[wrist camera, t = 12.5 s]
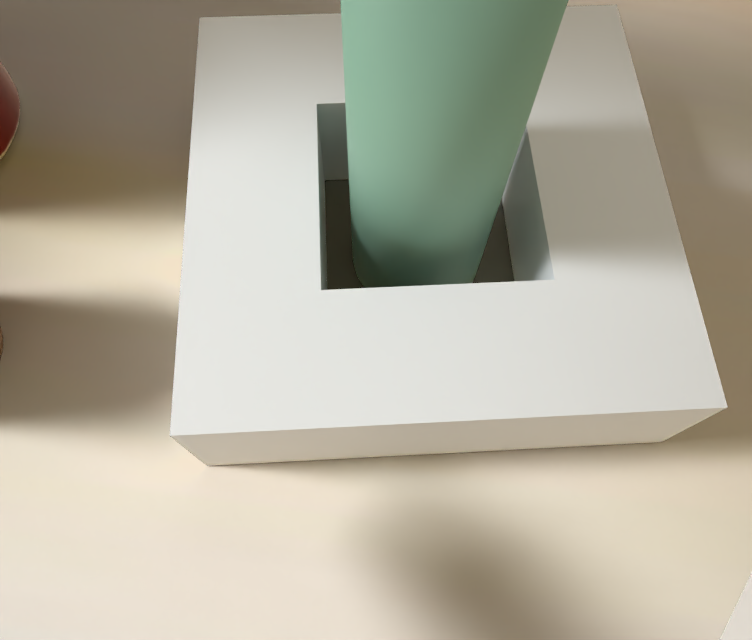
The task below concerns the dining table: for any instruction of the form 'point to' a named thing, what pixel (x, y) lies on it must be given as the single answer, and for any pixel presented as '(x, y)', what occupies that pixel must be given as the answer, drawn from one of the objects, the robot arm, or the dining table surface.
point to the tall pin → (435, 127)
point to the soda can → (8, 110)
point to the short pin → (1, 342)
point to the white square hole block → (428, 302)
